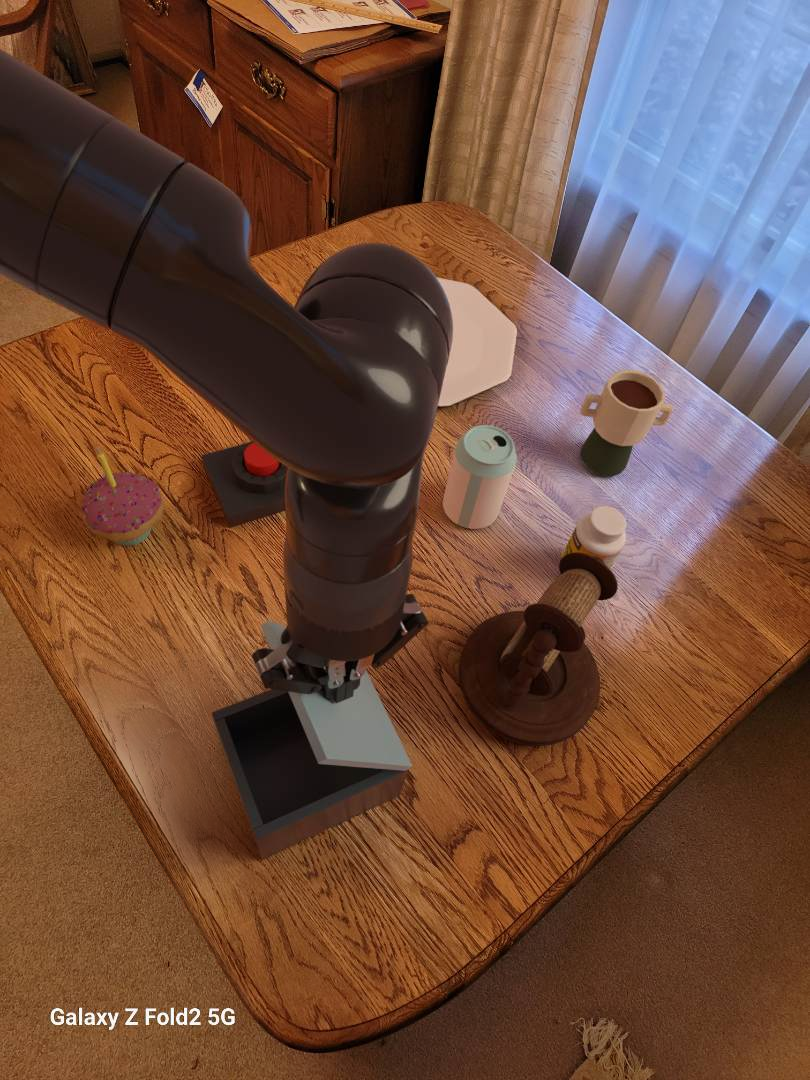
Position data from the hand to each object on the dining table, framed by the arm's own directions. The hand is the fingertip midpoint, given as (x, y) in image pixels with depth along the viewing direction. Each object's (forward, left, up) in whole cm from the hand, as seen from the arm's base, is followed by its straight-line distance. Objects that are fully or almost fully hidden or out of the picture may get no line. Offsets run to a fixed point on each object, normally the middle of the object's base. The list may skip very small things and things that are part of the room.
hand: (338, 690), depth 59 cm
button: (+5, +35, -13) cm, 38 cm away
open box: (-3, 0, -17) cm, 17 cm away
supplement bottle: (+35, +9, -17) cm, 40 cm away
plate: (+35, +52, -17) cm, 65 cm away
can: (+27, +22, -17) cm, 39 cm away
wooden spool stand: (+22, -1, -17) cm, 27 cm away
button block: (+5, +35, -17) cm, 39 cm away
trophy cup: (+48, +22, -17) cm, 56 cm away
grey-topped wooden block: (0, 0, -2) cm, 2 cm away
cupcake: (-11, +34, -17) cm, 39 cm away
